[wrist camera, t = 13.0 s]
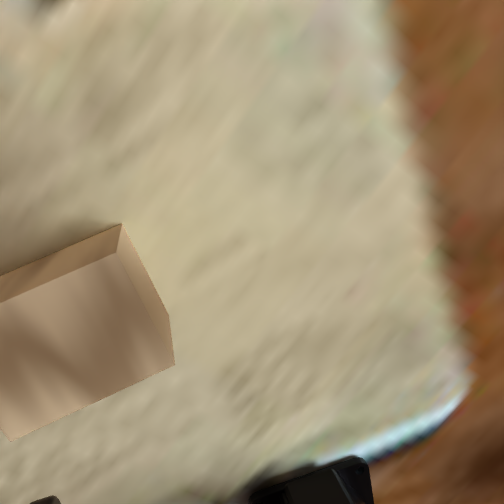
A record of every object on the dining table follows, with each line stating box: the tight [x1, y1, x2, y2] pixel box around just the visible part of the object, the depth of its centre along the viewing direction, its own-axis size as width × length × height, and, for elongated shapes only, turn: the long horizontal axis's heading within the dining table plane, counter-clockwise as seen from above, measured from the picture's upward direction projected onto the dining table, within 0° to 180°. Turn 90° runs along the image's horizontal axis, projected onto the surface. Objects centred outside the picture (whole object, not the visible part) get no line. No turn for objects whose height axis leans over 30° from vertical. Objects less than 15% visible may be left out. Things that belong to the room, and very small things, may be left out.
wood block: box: [0, 224, 175, 442], centre depth 17 cm, size 4×4×6 cm
